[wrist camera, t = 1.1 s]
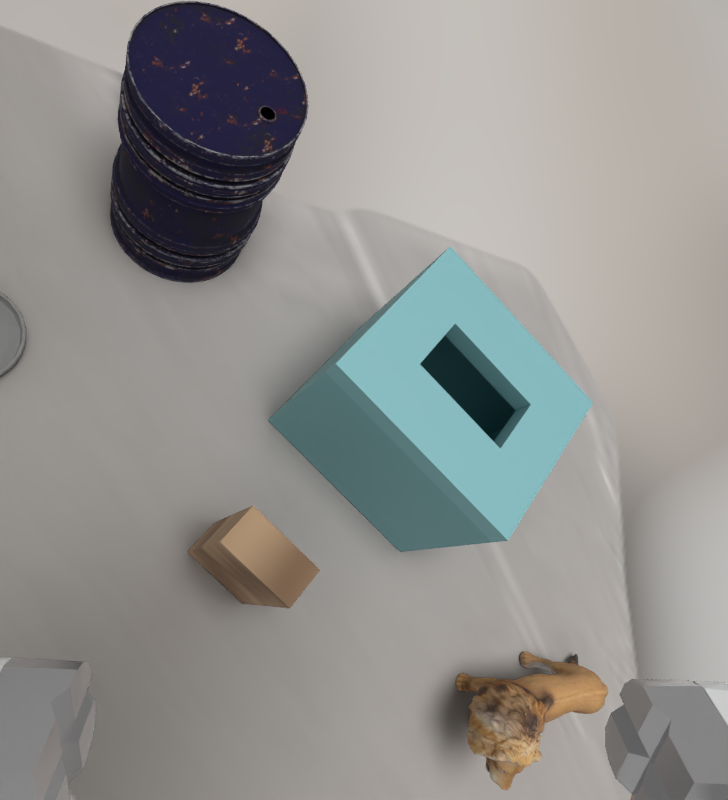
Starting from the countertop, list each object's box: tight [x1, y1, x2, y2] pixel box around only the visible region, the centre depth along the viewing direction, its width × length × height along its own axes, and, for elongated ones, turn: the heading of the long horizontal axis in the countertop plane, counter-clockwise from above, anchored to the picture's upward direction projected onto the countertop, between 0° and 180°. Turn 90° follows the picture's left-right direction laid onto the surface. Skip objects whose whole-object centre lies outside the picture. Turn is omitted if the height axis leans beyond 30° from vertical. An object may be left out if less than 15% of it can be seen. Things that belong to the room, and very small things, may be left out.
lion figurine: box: [456, 652, 608, 790], centre depth 42 cm, size 15×5×9 cm, turn 107°
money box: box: [268, 247, 593, 552], centre depth 42 cm, size 14×12×13 cm
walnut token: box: [187, 506, 320, 608], centre depth 36 cm, size 5×2×10 cm, turn 49°
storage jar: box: [110, 1, 308, 282], centre depth 39 cm, size 10×10×15 cm
